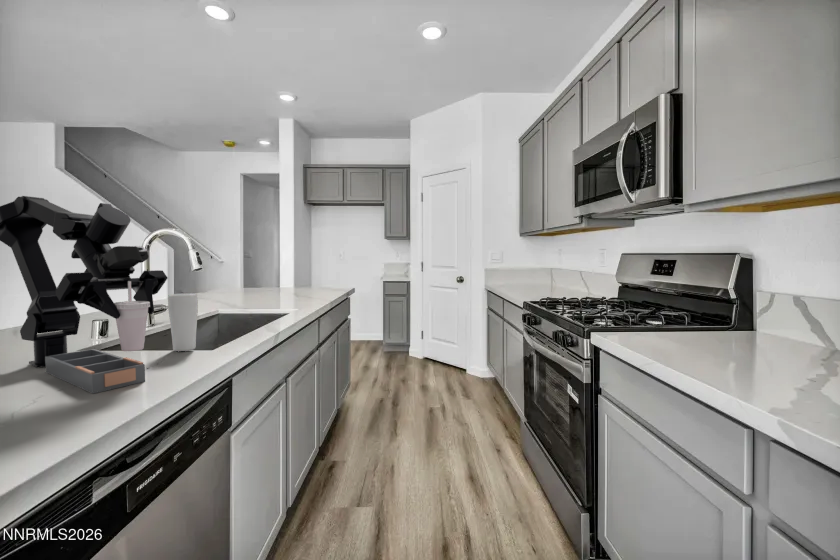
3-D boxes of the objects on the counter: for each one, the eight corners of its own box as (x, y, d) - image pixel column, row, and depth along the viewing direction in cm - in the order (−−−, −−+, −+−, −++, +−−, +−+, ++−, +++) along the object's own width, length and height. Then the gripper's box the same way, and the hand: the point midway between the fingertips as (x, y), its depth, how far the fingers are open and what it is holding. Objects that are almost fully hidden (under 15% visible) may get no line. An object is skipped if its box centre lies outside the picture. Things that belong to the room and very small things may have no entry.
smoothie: (142, 344, 86) (140, 280, 86) (157, 348, 83) (155, 281, 82) (107, 350, 81) (105, 281, 80) (121, 354, 78) (119, 283, 77)
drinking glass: (185, 353, 103) (183, 296, 102) (163, 352, 105) (161, 295, 104) (204, 347, 110) (203, 293, 109) (183, 346, 111) (181, 293, 110)
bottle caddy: (45, 372, 86) (45, 355, 86) (94, 363, 93) (93, 347, 93) (93, 393, 73) (93, 373, 72) (146, 381, 80) (145, 363, 80)
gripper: (61, 229, 73) (101, 292, 70) (161, 234, 91) (196, 285, 87) (39, 270, 77) (75, 332, 73) (139, 268, 94) (172, 318, 91)
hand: (135, 314), depth 81 cm, fingers closed on smoothie, 6 cm apart
